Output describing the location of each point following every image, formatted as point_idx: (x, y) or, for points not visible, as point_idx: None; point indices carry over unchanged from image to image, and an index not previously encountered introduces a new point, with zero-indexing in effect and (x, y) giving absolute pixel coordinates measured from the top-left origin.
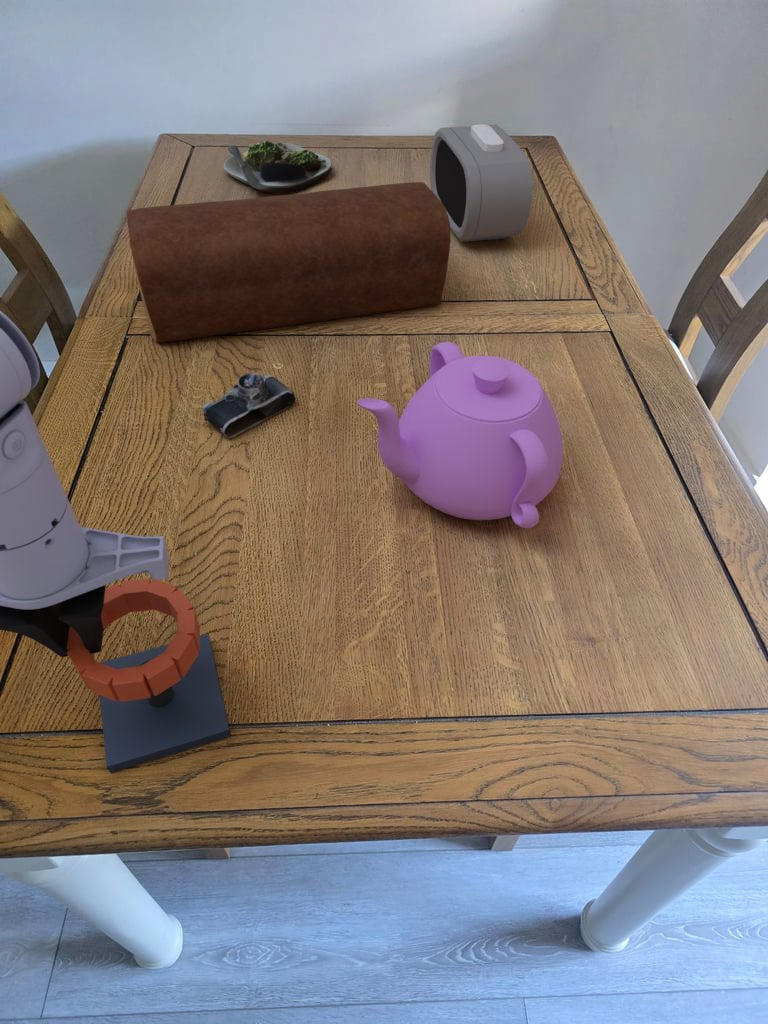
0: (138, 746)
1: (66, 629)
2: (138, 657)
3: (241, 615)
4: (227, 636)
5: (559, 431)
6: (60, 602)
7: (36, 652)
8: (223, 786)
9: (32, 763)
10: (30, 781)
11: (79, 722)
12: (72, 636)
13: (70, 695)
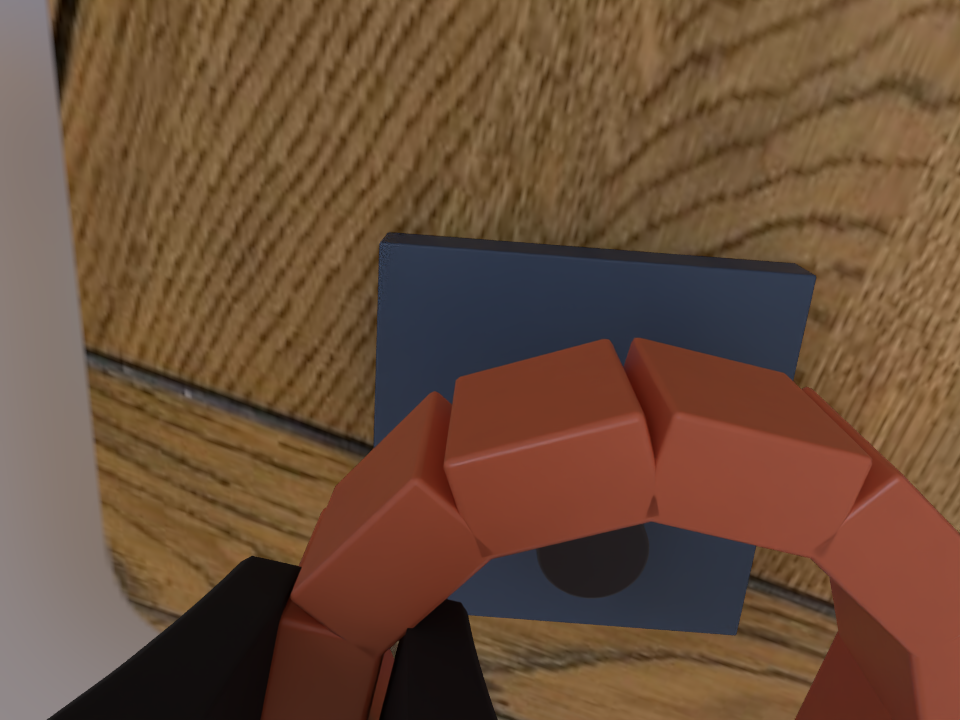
0: (468, 588)
1: (254, 705)
2: (534, 279)
3: (955, 190)
4: (862, 265)
5: None
6: (205, 710)
7: (155, 45)
8: (652, 709)
9: (162, 470)
10: (159, 518)
11: (302, 396)
12: (289, 709)
13: (278, 289)
